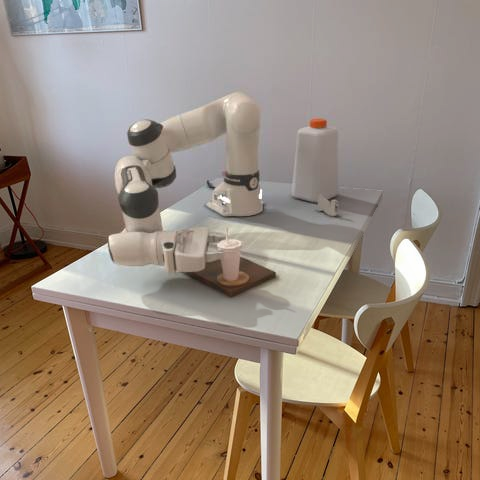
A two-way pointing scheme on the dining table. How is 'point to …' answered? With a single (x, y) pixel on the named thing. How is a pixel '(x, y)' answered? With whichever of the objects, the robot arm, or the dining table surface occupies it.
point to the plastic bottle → (316, 162)
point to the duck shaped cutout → (328, 206)
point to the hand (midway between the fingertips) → (225, 247)
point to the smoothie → (230, 257)
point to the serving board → (247, 279)
